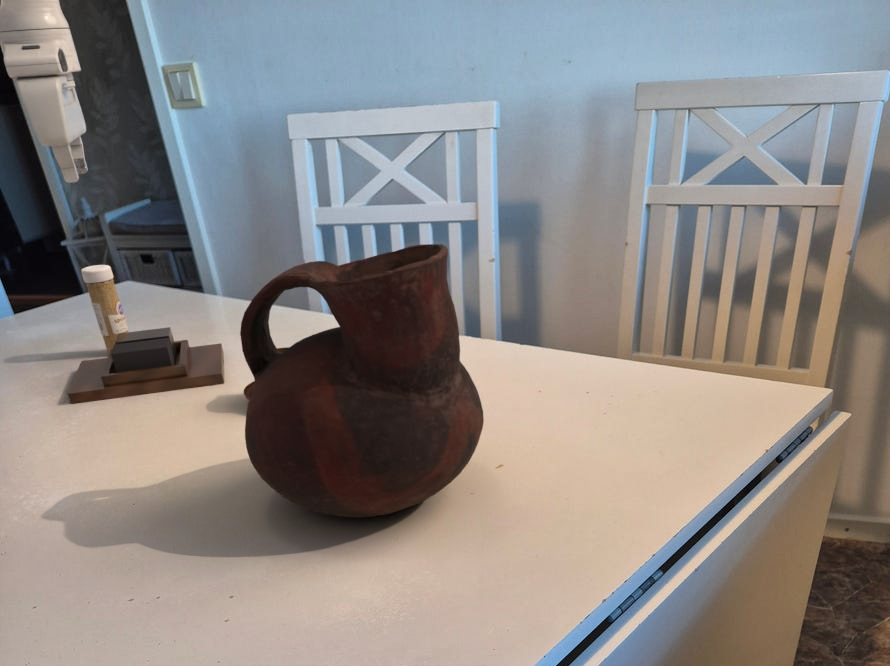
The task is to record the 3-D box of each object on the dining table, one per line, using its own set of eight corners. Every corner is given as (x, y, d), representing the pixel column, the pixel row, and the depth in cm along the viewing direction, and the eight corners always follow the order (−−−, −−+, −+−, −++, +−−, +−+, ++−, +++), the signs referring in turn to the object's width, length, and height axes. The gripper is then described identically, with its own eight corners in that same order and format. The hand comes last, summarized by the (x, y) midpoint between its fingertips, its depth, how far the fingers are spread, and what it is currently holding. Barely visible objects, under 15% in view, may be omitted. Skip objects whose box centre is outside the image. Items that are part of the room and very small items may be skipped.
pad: (119, 381, 125) (110, 354, 122) (122, 370, 129) (114, 344, 126) (174, 373, 126) (167, 346, 124) (175, 363, 130) (168, 337, 128)
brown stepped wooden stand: (70, 403, 122) (57, 366, 119) (84, 370, 135) (72, 335, 132) (224, 383, 126) (215, 346, 123) (223, 352, 139) (215, 318, 135)
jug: (345, 435, 107) (312, 220, 92) (523, 465, 97) (517, 228, 82) (211, 522, 90) (143, 274, 75) (411, 569, 79) (378, 293, 65)
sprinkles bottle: (134, 353, 141) (108, 268, 133) (105, 357, 140) (78, 271, 132) (135, 346, 144) (111, 262, 136) (108, 349, 143) (81, 265, 135)
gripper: (30, 58, 117) (64, 170, 126) (0, 61, 101) (42, 189, 109) (77, 55, 118) (108, 166, 127) (55, 57, 102) (92, 184, 110)
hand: (77, 177), depth 118 cm, fingers open, 8 cm apart
